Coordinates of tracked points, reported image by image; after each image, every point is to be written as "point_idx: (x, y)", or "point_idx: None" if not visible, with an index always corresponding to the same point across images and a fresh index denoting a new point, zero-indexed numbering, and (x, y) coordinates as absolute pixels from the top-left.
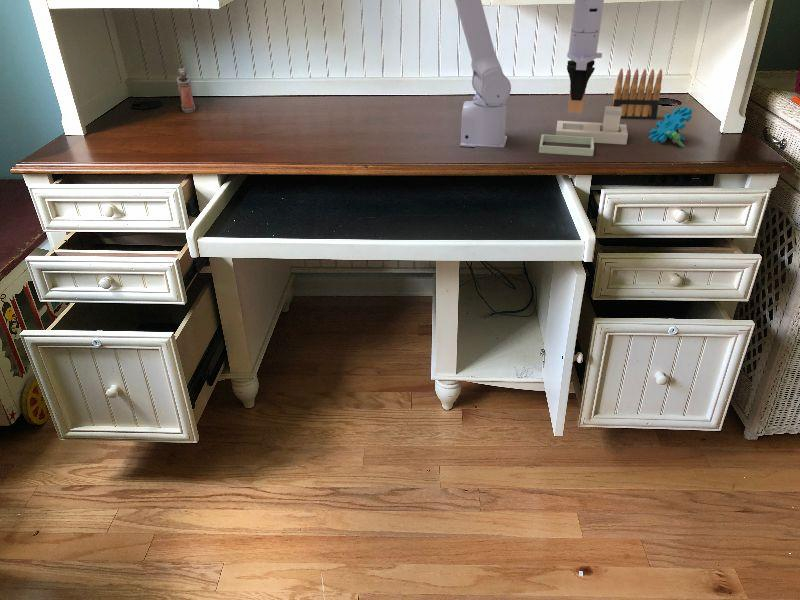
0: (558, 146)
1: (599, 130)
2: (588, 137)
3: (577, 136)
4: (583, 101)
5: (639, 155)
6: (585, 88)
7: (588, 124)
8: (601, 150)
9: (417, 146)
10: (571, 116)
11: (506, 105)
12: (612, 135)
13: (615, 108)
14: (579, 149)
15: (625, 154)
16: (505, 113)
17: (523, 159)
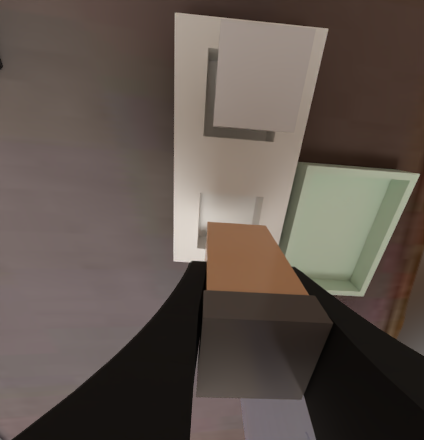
0: (375, 260)
1: (267, 143)
2: (308, 181)
3: (297, 211)
4: (280, 251)
5: (396, 4)
6: (306, 295)
7: (199, 175)
8: (331, 137)
9: None
10: (13, 200)
11: (309, 435)
12: (310, 98)
13: (259, 67)
14: (399, 211)
15: (377, 60)
16: (305, 410)
17: (369, 304)
